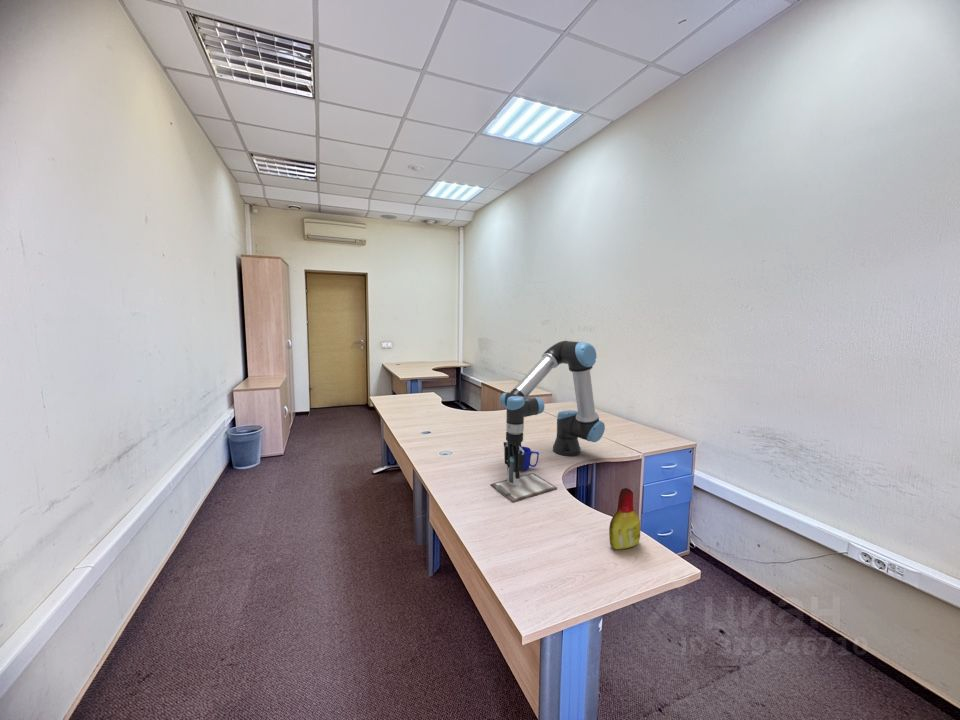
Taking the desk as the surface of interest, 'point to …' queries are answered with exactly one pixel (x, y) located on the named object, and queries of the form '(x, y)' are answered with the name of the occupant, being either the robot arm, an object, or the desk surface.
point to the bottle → (624, 523)
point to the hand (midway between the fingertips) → (513, 482)
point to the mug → (528, 458)
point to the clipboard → (523, 487)
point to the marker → (511, 470)
